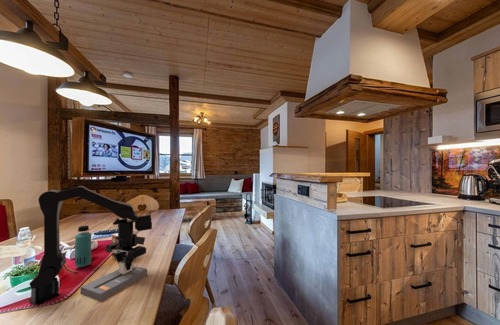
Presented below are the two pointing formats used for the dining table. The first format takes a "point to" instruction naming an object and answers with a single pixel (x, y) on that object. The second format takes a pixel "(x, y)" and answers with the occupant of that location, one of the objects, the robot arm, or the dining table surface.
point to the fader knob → (123, 268)
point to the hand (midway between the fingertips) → (125, 269)
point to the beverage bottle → (83, 247)
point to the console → (112, 283)
